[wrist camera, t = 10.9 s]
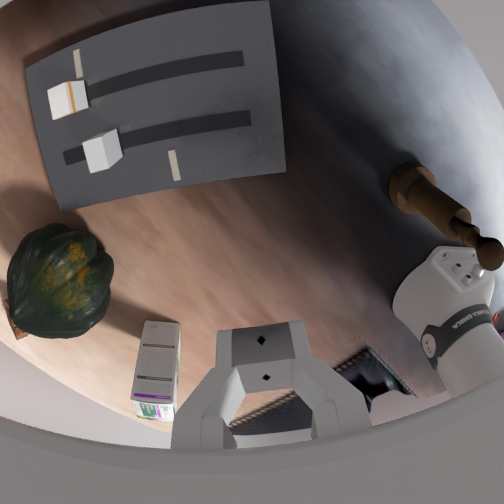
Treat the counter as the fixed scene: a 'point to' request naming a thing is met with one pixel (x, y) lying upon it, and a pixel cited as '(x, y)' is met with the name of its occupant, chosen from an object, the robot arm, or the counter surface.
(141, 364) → the syrup box
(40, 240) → the squash
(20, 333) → the fruit slice
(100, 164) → the block
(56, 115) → the block
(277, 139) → the console
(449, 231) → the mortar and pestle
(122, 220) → the counter surface
